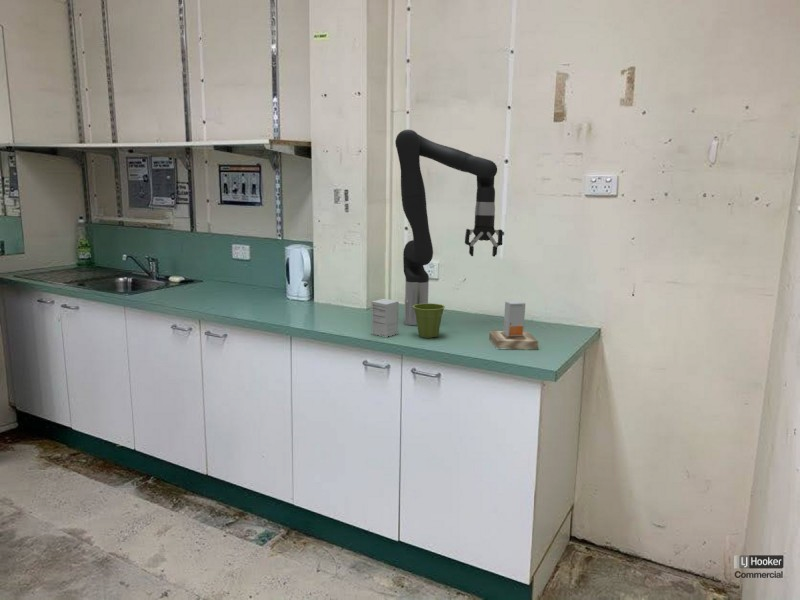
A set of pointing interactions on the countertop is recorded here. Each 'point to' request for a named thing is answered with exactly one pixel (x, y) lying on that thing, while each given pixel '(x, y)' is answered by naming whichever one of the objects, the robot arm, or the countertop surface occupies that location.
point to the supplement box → (385, 317)
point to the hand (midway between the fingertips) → (482, 256)
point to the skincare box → (514, 318)
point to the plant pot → (428, 319)
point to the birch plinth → (513, 340)
